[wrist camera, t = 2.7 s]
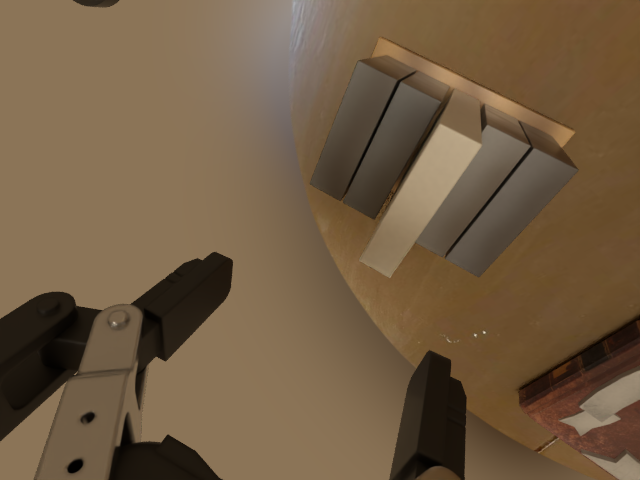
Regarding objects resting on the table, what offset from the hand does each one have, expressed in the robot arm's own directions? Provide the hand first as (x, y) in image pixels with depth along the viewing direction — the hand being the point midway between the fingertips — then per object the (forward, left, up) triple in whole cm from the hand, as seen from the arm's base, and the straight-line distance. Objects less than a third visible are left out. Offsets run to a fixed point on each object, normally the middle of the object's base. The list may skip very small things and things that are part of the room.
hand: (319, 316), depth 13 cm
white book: (+2, +1, -25) cm, 25 cm away
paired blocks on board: (+2, +1, -26) cm, 26 cm away
